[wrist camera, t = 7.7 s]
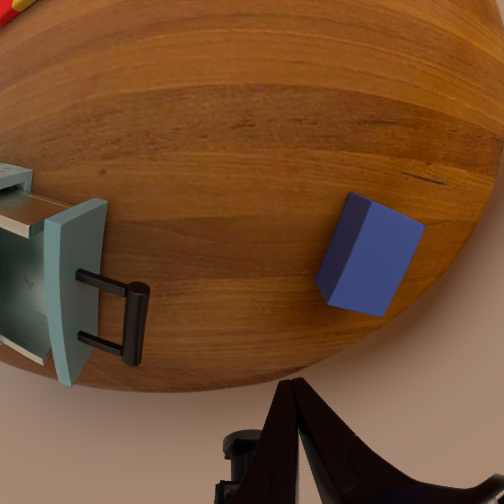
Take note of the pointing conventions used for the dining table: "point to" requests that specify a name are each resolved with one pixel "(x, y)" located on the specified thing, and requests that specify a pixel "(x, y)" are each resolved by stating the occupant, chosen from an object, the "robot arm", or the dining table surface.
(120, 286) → the drawer
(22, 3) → the popsicle
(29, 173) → the cabinet
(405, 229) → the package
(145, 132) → the dining table surface
